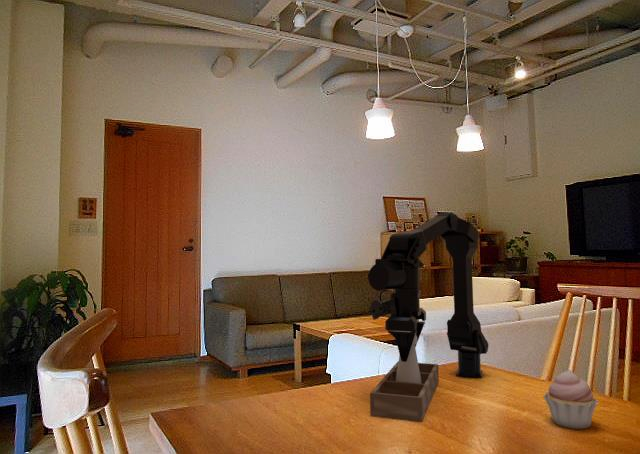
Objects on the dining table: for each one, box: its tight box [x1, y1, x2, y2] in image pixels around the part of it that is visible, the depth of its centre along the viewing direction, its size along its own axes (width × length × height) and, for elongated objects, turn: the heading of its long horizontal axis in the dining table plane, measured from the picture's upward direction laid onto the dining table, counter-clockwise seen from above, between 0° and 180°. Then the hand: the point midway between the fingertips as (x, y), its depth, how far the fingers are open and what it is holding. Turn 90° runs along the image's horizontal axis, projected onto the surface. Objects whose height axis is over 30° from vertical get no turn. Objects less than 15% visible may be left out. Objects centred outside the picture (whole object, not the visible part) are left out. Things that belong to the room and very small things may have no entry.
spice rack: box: [369, 360, 440, 423], centre depth 107 cm, size 29×10×4 cm, turn 160°
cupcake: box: [543, 369, 599, 430], centre depth 90 cm, size 9×9×10 cm
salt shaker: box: [396, 335, 421, 383], centre depth 107 cm, size 6×6×13 cm
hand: (407, 357), depth 107 cm, fingers open, 9 cm apart
